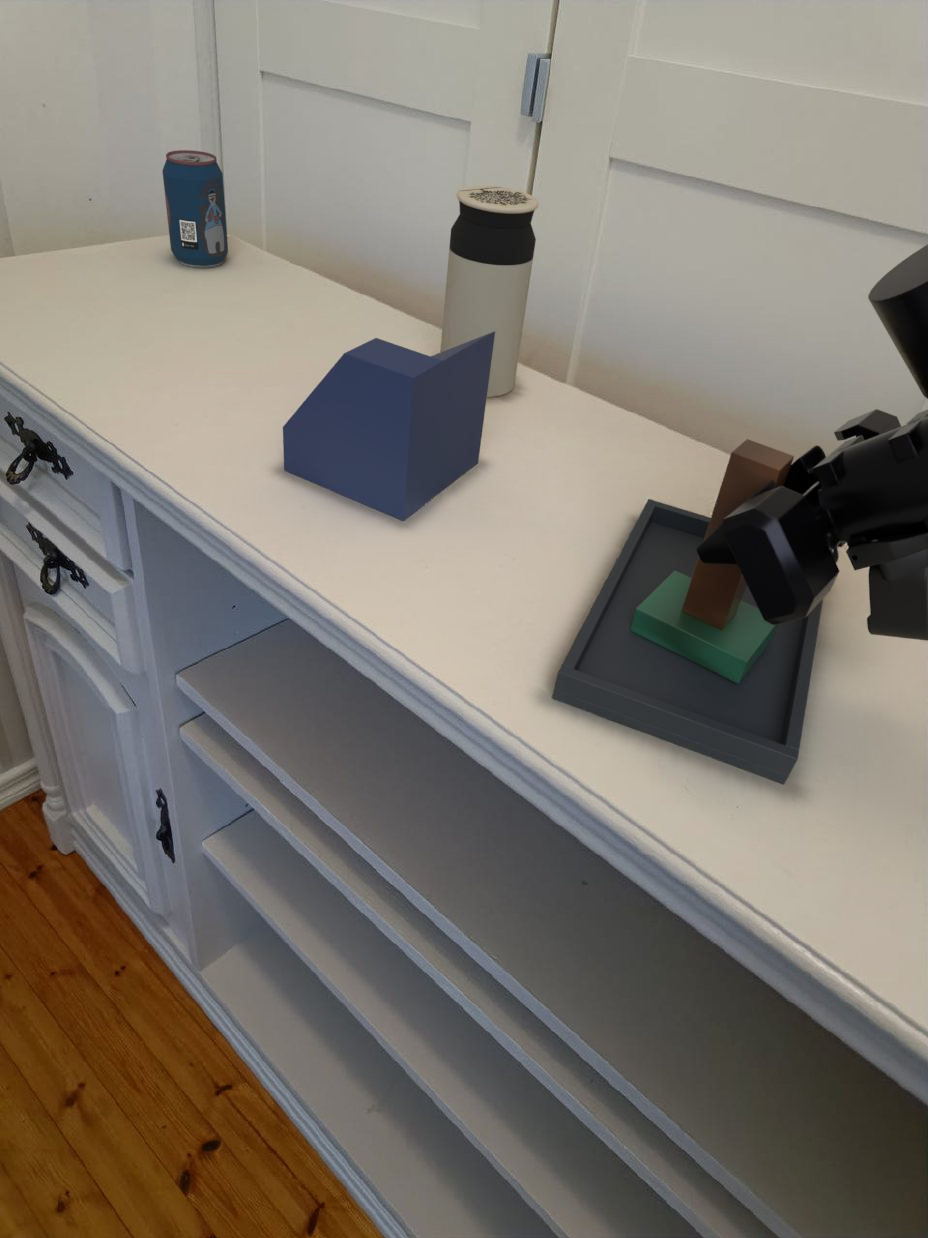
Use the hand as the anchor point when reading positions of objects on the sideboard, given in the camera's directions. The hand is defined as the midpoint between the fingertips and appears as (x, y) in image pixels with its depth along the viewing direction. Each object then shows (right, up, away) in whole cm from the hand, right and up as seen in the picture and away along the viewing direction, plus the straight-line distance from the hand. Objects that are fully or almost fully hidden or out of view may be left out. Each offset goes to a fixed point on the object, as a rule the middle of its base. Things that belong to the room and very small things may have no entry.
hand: (710, 546), depth 55 cm
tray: (+1, -5, +6) cm, 8 cm away
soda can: (-49, +41, +53) cm, 83 cm away
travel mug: (-15, +20, +34) cm, 42 cm away
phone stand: (-23, +8, +19) cm, 31 cm away
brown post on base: (0, -6, +4) cm, 7 cm away
